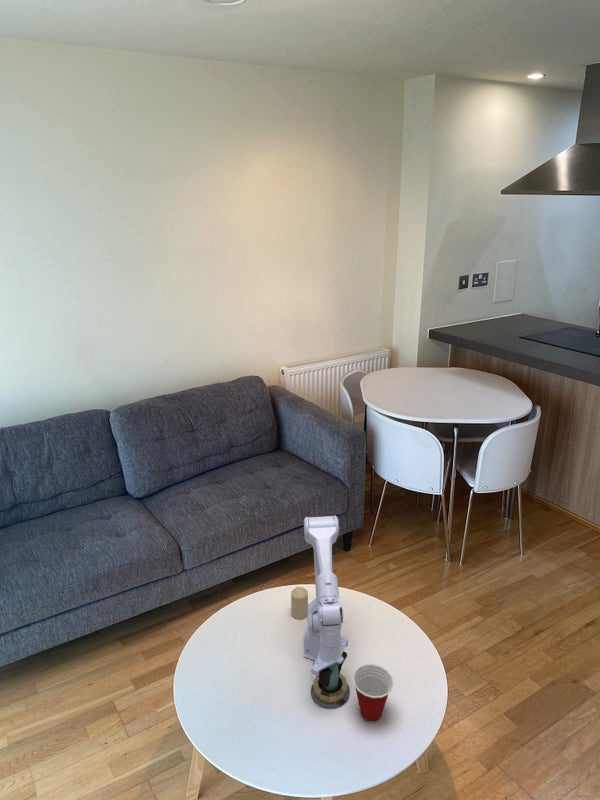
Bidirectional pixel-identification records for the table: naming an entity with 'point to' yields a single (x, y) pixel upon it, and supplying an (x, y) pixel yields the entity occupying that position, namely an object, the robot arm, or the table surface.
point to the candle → (299, 603)
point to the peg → (332, 679)
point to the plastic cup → (372, 690)
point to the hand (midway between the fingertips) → (330, 679)
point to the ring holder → (330, 694)
